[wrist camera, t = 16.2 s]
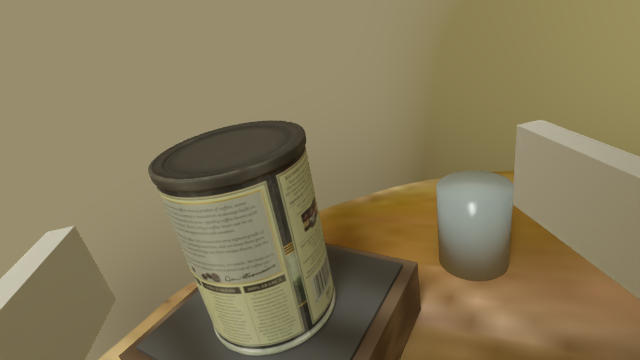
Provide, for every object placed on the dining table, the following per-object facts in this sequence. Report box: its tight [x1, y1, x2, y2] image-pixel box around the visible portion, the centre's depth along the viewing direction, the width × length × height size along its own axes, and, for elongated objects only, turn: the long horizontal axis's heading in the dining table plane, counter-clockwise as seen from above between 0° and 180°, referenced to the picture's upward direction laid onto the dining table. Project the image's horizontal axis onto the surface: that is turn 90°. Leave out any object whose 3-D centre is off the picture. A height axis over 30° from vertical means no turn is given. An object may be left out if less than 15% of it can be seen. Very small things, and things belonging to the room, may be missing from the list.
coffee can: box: [148, 121, 336, 356], centre depth 27 cm, size 10×10×14 cm
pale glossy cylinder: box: [437, 171, 514, 281], centre depth 38 cm, size 7×7×9 cm
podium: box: [119, 243, 421, 360], centre depth 31 cm, size 18×18×6 cm
